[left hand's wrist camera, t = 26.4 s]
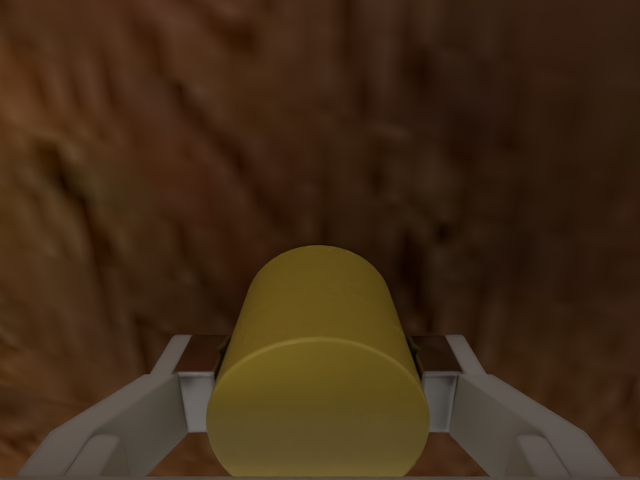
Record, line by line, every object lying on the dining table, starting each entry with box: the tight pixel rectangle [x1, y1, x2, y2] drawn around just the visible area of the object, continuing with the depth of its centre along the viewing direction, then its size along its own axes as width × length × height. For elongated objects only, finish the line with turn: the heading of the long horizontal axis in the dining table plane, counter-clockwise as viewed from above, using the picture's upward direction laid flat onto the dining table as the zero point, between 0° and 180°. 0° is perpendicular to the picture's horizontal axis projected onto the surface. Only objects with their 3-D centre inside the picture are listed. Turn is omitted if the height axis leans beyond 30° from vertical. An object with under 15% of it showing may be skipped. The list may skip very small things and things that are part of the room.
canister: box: [206, 245, 430, 477], centre depth 10 cm, size 5×5×5 cm
